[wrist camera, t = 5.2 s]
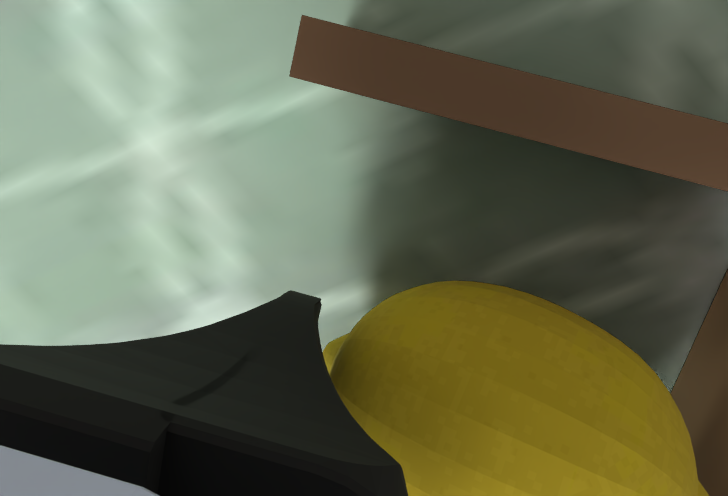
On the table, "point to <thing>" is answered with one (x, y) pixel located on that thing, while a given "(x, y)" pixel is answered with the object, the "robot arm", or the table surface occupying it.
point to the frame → (561, 129)
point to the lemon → (509, 398)
